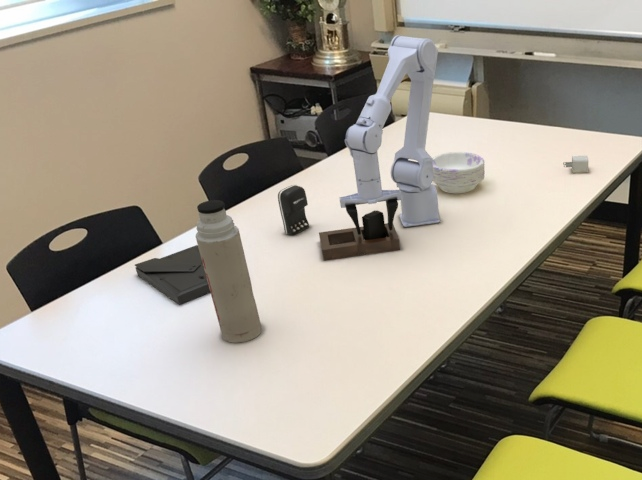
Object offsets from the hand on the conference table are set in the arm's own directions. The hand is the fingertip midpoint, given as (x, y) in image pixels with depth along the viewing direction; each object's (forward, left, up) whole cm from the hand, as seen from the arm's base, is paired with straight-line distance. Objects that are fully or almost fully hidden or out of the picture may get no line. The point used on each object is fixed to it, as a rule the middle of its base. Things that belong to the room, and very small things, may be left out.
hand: (374, 230), depth 193 cm
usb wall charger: (-62, -30, -4) cm, 69 cm away
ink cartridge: (0, 0, -4) cm, 4 cm away
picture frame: (+44, +4, -4) cm, 44 cm away
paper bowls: (-27, -29, -4) cm, 40 cm away
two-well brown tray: (+4, 0, -3) cm, 5 cm away
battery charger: (+18, -14, -4) cm, 23 cm away
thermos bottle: (+32, +33, -4) cm, 46 cm away
